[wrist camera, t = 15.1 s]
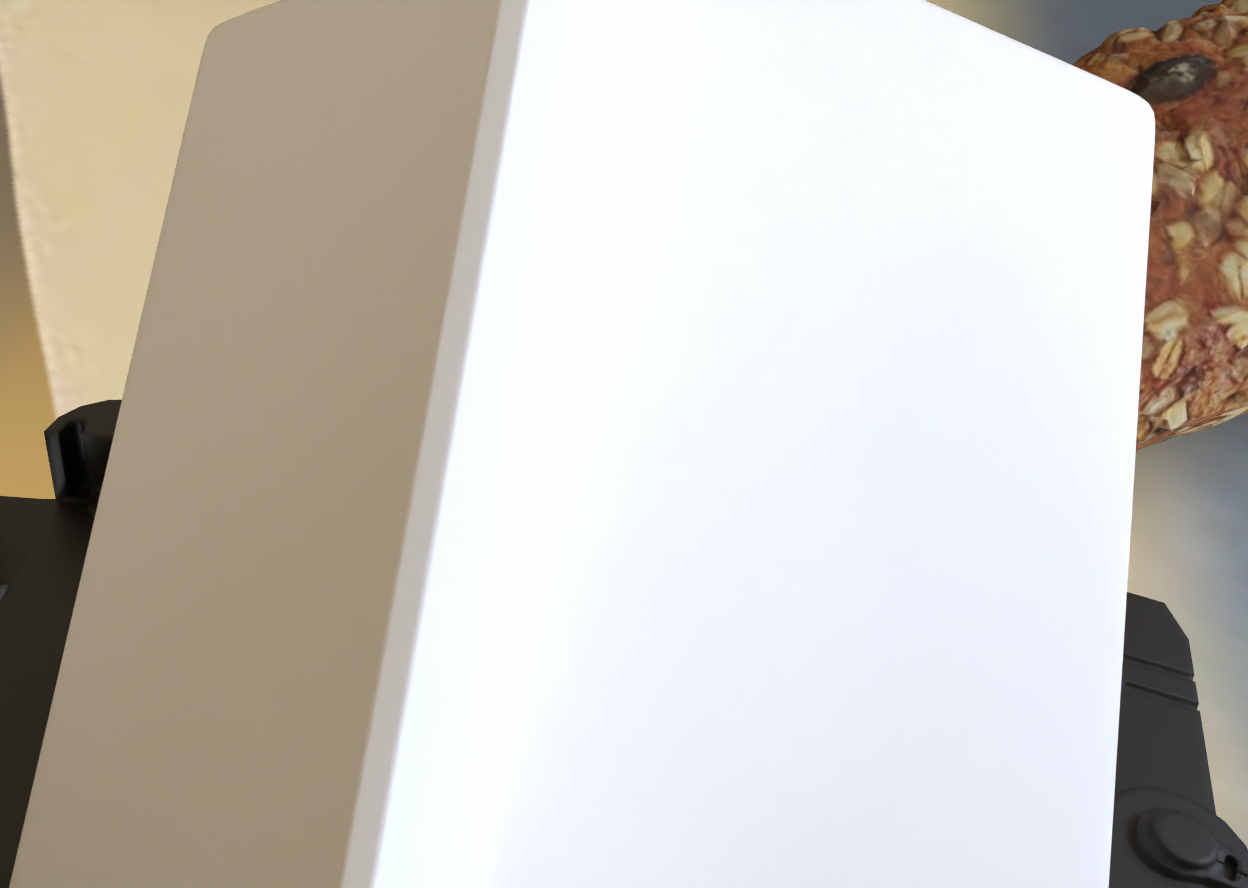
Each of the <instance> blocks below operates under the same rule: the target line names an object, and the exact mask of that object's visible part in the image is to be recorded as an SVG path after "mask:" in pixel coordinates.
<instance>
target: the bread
mask: <svg viewBox="0 0 1248 888" xmlns="http://www.w3.org/2000/svg"><path fill="white" fill-rule="evenodd" d="M1073 66H1075V67H1077V68H1080V69H1082V70H1084V71H1086V72H1089V73H1091V74H1093V75H1095V76H1098V77H1100V78H1102V79H1105V80H1107V81H1109V82H1111V83H1113V84H1116V85H1118V86H1120V87H1122V88H1124V89H1127V90H1129V91H1131V92H1132V93H1134V94H1136V95H1138V96H1140V97H1141V98H1142V99H1144V100H1145V101H1146V102H1148V103H1149V105H1150V106H1151V108H1152V110H1153V112H1154V117H1155V145H1154V161H1153V177H1152V194H1151V210H1150V226H1149V242H1148V258H1147V275H1146V291H1145V307H1144V323H1143V339H1142V356H1141V372H1140V388H1139V404H1138V420H1137V436H1136V451H1137V450H1139V449H1142V448H1145V447H1148V446H1151V445H1154V444H1157V443H1160V442H1163V441H1166V440H1168V439H1170V438H1172V437H1176V436H1179V435H1184V434H1189V433H1192V432H1196V431H1199V430H1202V429H1205V428H1209V427H1212V426H1215V425H1218V424H1220V423H1223V422H1225V421H1227V420H1230V419H1232V418H1234V417H1236V416H1239V415H1242V414H1246V413H1248V0H1223V1H1222V2H1221V3H1219V4H1214V5H1207V6H1203V7H1202V8H1200V9H1199V10H1198V11H1196V12H1195V13H1194V14H1193V16H1192V17H1191V18H1185V19H1179V20H1172V21H1169V22H1168V23H1166V24H1165V25H1164V26H1163V27H1162V28H1160V29H1159V30H1157V31H1152V30H1149V29H1146V28H1143V27H1139V28H1130V29H1124V30H1121V31H1119V32H1116V33H1114V34H1111V35H1109V36H1108V38H1107V39H1106V40H1105V41H1104V43H1103V44H1102V45H1101V46H1100V47H1098V48H1096V49H1095V50H1093V51H1091V52H1089V53H1088V54H1086V55H1084V56H1082V57H1081V58H1080V59H1079V60H1078V61H1077V62H1076V63H1074V64H1073Z"/></svg>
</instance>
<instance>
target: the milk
mask: <svg viewBox="0 0 1248 888" xmlns="http://www.w3.org/2000/svg"><path fill="white" fill-rule="evenodd" d="M1154 145H1155V117H1154V112H1153V110H1152V108H1151V106H1150V105H1149V103H1148V102H1146V101H1145V100H1144V99H1142V98H1141V97H1140V96H1138V95H1136V94H1134V93H1132V92H1131V91H1129V90H1127V89H1124V88H1122V87H1120V86H1118V85H1116V84H1113V83H1111V82H1109V81H1107V80H1105V79H1102V78H1100V77H1098V76H1095V75H1093V74H1091V73H1089V72H1086V71H1084V70H1082V69H1080V68H1077V67H1075V66H1073V65H1070V64H1068V63H1066V62H1064V61H1061V60H1059V59H1057V58H1055V57H1052V56H1050V55H1048V54H1045V53H1043V52H1041V51H1039V50H1036V49H1034V48H1032V47H1030V46H1027V45H1025V44H1023V43H1020V42H1018V41H1016V40H1014V39H1011V38H1009V37H1007V36H1005V35H1002V34H1000V33H998V32H995V31H993V30H991V29H989V28H986V27H984V26H982V25H979V24H977V23H975V22H973V21H970V20H968V19H966V18H964V17H961V16H959V15H957V14H954V13H952V12H950V11H948V10H945V9H943V8H941V7H939V6H936V5H934V4H932V3H929V2H927V1H925V0H280V1H277V2H275V3H272V4H269V5H267V6H264V7H261V8H259V9H256V10H253V11H251V12H248V13H245V14H243V15H240V16H237V17H235V18H232V19H230V20H228V21H225V22H223V23H221V24H219V25H218V26H216V27H215V28H214V29H213V30H212V31H211V32H210V33H209V35H208V37H207V40H206V43H205V46H204V50H203V54H202V57H201V61H200V65H199V70H198V74H197V78H196V83H195V87H194V91H193V95H192V100H191V104H190V108H189V113H188V117H187V121H186V126H185V130H184V134H183V139H182V143H181V147H180V152H179V156H178V160H177V165H176V169H175V173H174V178H173V182H172V186H171V190H170V195H169V199H168V203H167V208H166V212H165V216H164V221H163V225H162V229H161V234H160V238H159V242H158V247H157V251H156V255H155V260H154V264H153V268H152V273H151V277H150V281H149V285H148V290H147V294H146V298H145V303H144V307H143V311H142V316H141V320H140V324H139V329H138V333H137V337H136V342H135V346H134V350H133V355H132V359H131V363H130V368H129V372H128V376H127V380H126V385H125V389H124V393H123V398H122V402H121V406H120V411H119V415H118V419H117V424H116V428H115V432H114V437H113V441H112V445H111V450H110V454H109V458H108V463H107V467H106V471H105V475H104V480H103V484H102V488H101V493H100V497H99V501H98V506H97V510H96V514H95V519H94V523H93V527H92V532H91V536H90V540H89V545H88V549H87V553H86V558H85V562H84V566H83V570H82V575H81V579H80V583H79V588H78V592H77V596H76V601H75V605H74V609H73V614H72V618H71V622H70V627H69V631H68V635H67V640H66V644H65V648H64V653H63V657H62V661H61V665H60V670H59V674H58V678H57V683H56V687H55V691H54V696H53V700H52V704H51V709H50V713H49V717H48V722H47V726H46V730H45V735H44V739H43V743H42V748H41V752H40V756H39V760H38V765H37V769H36V773H35V778H34V782H33V786H32V791H31V795H30V799H29V804H28V808H27V812H26V817H25V821H24V825H23V830H22V834H21V838H20V843H19V847H18V851H17V855H16V860H15V864H14V868H13V873H12V877H11V881H10V886H9V888H1109V874H1110V857H1111V841H1112V825H1113V809H1114V793H1115V776H1116V760H1117V744H1118V728H1119V712H1120V695H1121V679H1122V663H1123V647H1124V631H1125V615H1126V598H1127V582H1128V566H1129V550H1130V534H1131V517H1132V501H1133V485H1134V469H1135V453H1136V436H1137V420H1138V404H1139V388H1140V372H1141V356H1142V339H1143V323H1144V307H1145V291H1146V275H1147V258H1148V242H1149V226H1150V210H1151V194H1152V177H1153V161H1154Z"/></svg>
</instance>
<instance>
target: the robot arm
mask: <svg viewBox="0 0 1248 888" xmlns="http://www.w3.org/2000/svg"><path fill="white" fill-rule="evenodd" d="M121 402H122V400H107V401H102V402H98V403H93V404H89V405H84V406H81V407H79V408H77V409H74V410H72V411H70V412H68V413H66V414H64V415H62V416H60V417H58V418H57V419H56V420H55V421H54V422H53V423H52V424H51V425H50V426H49V427H48V428H47V429H46V430H45V431H44V435H45V440H46V446H47V451H48V457H49V463H50V469H51V475H52V480H53V486H54V491H55V497H56V499H33V498H20V497H7V496H0V888H9V886H10V881H11V877H12V873H13V868H14V864H15V860H16V855H17V851H18V847H19V843H20V838H21V834H22V830H23V825H24V821H25V817H26V812H27V808H28V804H29V799H30V795H31V791H32V786H33V782H34V778H35V773H36V769H37V765H38V760H39V756H40V752H41V748H42V743H43V739H44V735H45V730H46V726H47V722H48V717H49V713H50V709H51V704H52V700H53V696H54V691H55V687H56V683H57V678H58V674H59V670H60V665H61V661H62V657H63V653H64V648H65V644H66V640H67V635H68V631H69V627H70V622H71V618H72V614H73V609H74V605H75V601H76V596H77V592H78V588H79V583H80V579H81V575H82V570H83V566H84V562H85V558H86V553H87V549H88V545H89V540H90V536H91V532H92V527H93V523H94V519H95V514H96V510H97V506H98V501H99V497H100V493H101V488H102V484H103V480H104V475H105V471H106V467H107V463H108V458H109V454H110V450H111V445H112V441H113V437H114V432H115V428H116V424H117V419H118V415H119V411H120V406H121ZM1193 677H1194V671H1193V664H1192V658H1191V652H1190V645H1189V640H1188V638H1187V636H1186V635H1185V633H1184V632H1183V630H1182V629H1181V627H1180V626H1179V624H1178V623H1177V621H1176V620H1175V618H1174V617H1173V615H1172V614H1171V612H1170V611H1169V609H1168V608H1167V606H1166V605H1165V603H1163V602H1159V601H1156V600H1152V599H1149V598H1146V597H1142V596H1139V595H1135V594H1132V593H1129V592H1127V598H1126V615H1125V631H1124V647H1123V663H1122V679H1121V695H1120V712H1119V728H1118V744H1117V760H1116V776H1115V793H1114V809H1113V825H1112V841H1111V857H1110V874H1109V888H1248V849H1247V847H1246V845H1245V844H1244V843H1243V842H1242V841H1241V840H1240V839H1239V837H1238V836H1237V835H1236V834H1235V833H1234V832H1233V830H1232V829H1231V828H1230V827H1229V826H1228V825H1227V823H1226V822H1225V821H1223V820H1222V819H1221V818H1219V817H1218V816H1216V811H1215V805H1214V799H1213V792H1212V786H1211V779H1210V773H1209V767H1208V760H1207V754H1206V748H1205V741H1204V735H1203V728H1202V722H1201V716H1200V711H1198V710H1197V707H1198V704H1199V703H1198V696H1197V690H1196V684H1195V682H1194V681H1193Z"/></svg>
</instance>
